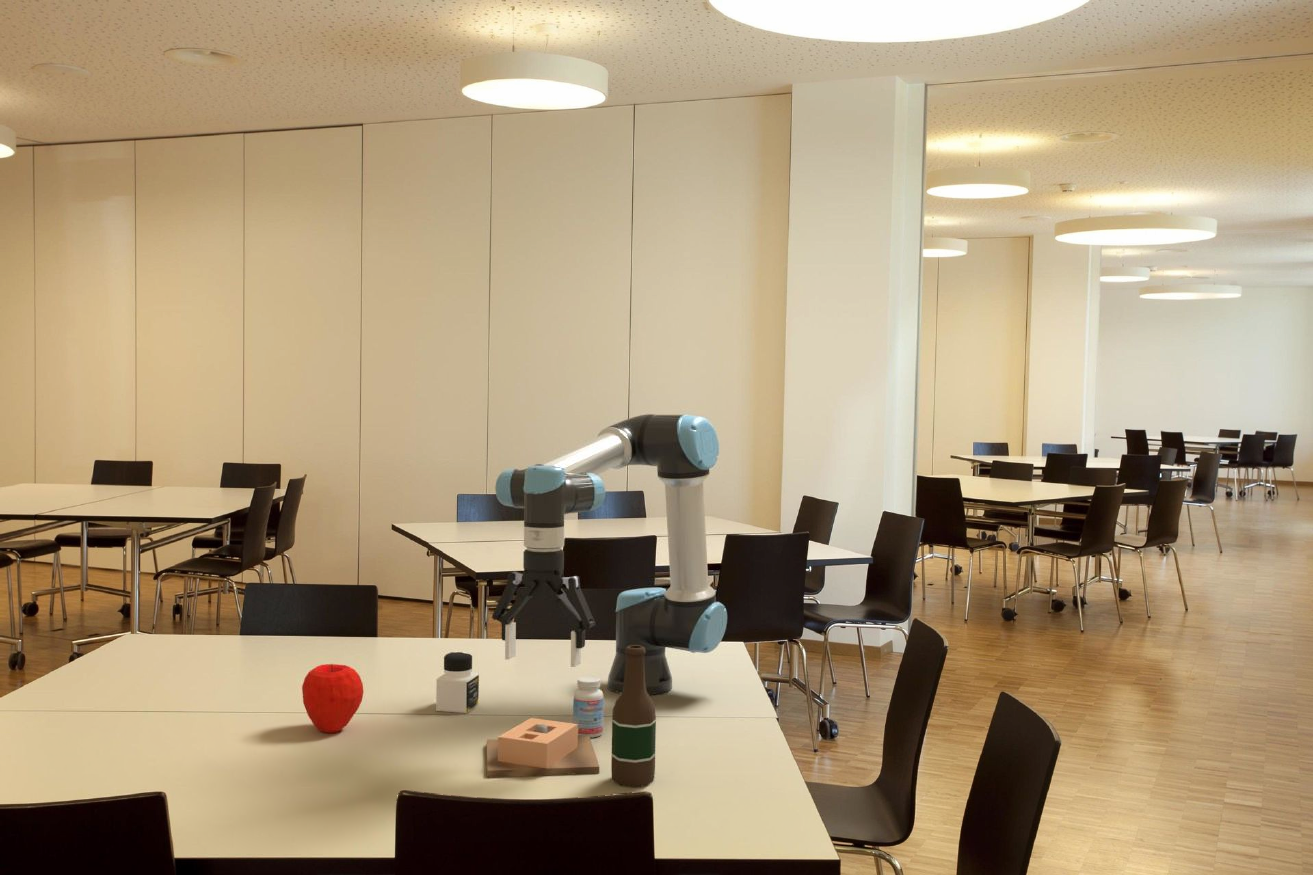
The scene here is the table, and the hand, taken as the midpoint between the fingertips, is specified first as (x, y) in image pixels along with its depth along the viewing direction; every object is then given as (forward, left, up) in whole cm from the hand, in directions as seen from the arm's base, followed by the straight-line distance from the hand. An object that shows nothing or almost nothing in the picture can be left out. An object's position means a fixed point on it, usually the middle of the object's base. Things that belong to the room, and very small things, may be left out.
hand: (542, 661), depth 206 cm
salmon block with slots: (+1, +1, -17) cm, 17 cm away
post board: (0, 0, -18) cm, 18 cm away
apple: (+41, -22, -19) cm, 50 cm away
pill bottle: (-10, -14, -19) cm, 26 cm away
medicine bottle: (+16, -36, -19) cm, 43 cm away
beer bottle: (-15, +13, -19) cm, 28 cm away
